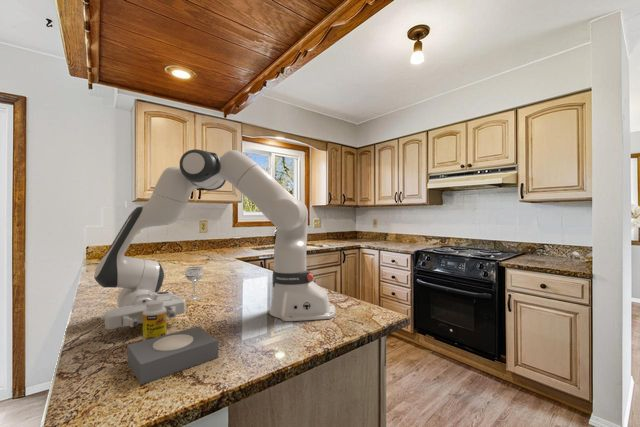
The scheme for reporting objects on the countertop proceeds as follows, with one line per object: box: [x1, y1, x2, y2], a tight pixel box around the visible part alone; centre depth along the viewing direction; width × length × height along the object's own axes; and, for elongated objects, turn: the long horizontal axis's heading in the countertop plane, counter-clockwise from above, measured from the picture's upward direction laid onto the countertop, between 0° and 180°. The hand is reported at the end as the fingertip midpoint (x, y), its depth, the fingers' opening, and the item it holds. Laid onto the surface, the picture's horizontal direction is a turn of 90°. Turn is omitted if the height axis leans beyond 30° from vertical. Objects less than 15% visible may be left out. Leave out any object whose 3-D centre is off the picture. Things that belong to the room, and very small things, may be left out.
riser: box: [126, 325, 219, 385], centre depth 69 cm, size 16×12×4 cm
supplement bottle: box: [142, 300, 167, 341], centre depth 80 cm, size 6×6×10 cm
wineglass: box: [184, 266, 204, 301], centre depth 118 cm, size 7×7×12 cm
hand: (154, 319), depth 80 cm, fingers open, 8 cm apart
